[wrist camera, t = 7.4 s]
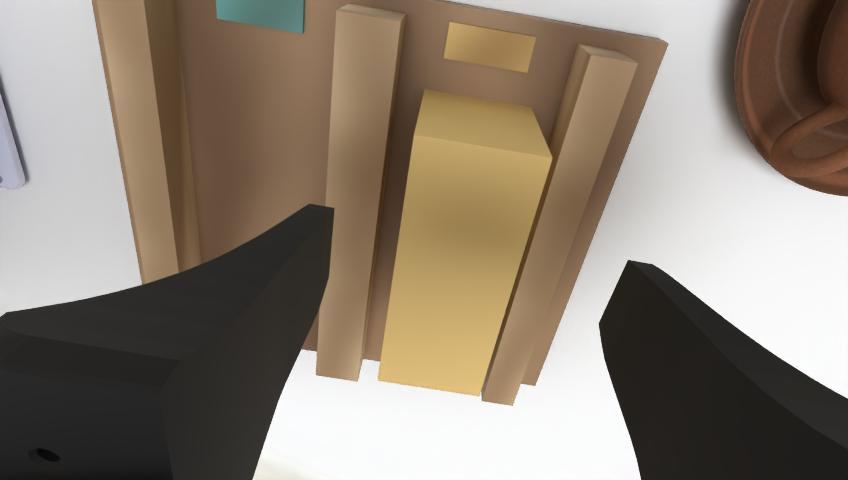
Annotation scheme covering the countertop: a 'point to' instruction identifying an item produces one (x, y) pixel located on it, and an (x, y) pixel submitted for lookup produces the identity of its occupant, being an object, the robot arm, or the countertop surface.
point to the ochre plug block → (460, 238)
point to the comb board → (295, 123)
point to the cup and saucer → (796, 88)
